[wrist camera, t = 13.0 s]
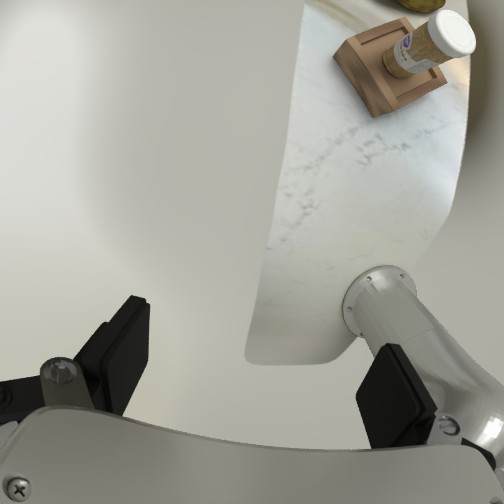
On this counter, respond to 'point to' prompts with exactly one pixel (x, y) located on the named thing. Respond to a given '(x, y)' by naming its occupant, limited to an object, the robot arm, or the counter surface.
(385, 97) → the wooden box
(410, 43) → the sprinkles bottle
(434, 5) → the potato
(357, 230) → the counter surface
